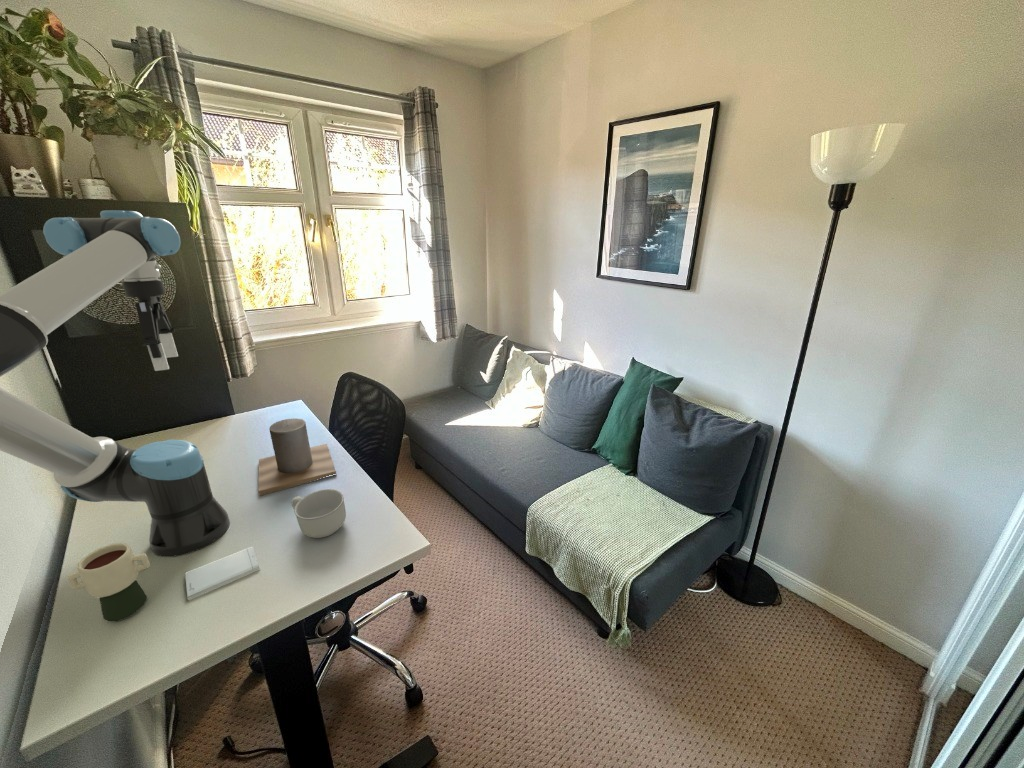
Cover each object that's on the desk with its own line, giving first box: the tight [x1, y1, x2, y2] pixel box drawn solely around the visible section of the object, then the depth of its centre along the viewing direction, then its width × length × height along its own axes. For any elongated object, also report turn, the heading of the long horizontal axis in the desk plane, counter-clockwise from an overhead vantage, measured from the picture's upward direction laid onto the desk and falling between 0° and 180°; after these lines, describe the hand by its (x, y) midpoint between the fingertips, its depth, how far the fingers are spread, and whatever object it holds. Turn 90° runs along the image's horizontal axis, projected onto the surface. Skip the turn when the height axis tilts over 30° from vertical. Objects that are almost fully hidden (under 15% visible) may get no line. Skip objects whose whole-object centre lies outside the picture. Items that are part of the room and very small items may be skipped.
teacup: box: [290, 488, 347, 539], centre depth 99 cm, size 14×11×8 cm
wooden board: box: [258, 443, 337, 496], centre depth 126 cm, size 20×20×2 cm
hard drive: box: [184, 546, 261, 601], centre depth 87 cm, size 2×8×12 cm
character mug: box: [67, 542, 151, 623], centre depth 76 cm, size 11×7×13 cm, turn 120°
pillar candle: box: [269, 417, 312, 473], centre depth 123 cm, size 10×10×15 cm
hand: (167, 363), depth 107 cm, fingers open, 13 cm apart
